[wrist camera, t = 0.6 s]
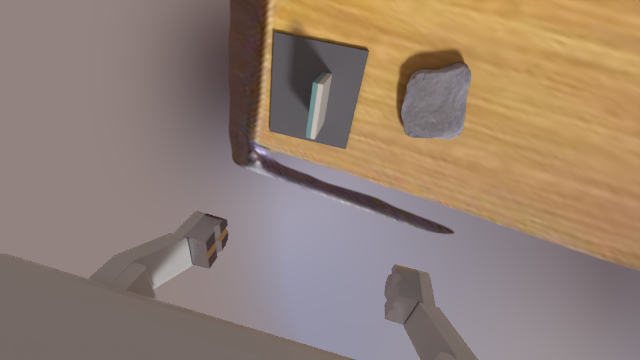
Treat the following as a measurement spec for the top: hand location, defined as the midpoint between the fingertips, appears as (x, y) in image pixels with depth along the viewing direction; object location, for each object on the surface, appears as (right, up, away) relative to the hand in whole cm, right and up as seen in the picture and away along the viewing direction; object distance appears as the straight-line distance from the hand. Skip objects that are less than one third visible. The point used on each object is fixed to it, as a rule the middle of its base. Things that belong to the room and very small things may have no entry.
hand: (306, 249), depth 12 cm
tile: (+1, +18, +35) cm, 40 cm away
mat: (0, +19, +36) cm, 40 cm away
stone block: (+20, +17, +33) cm, 42 cm away
